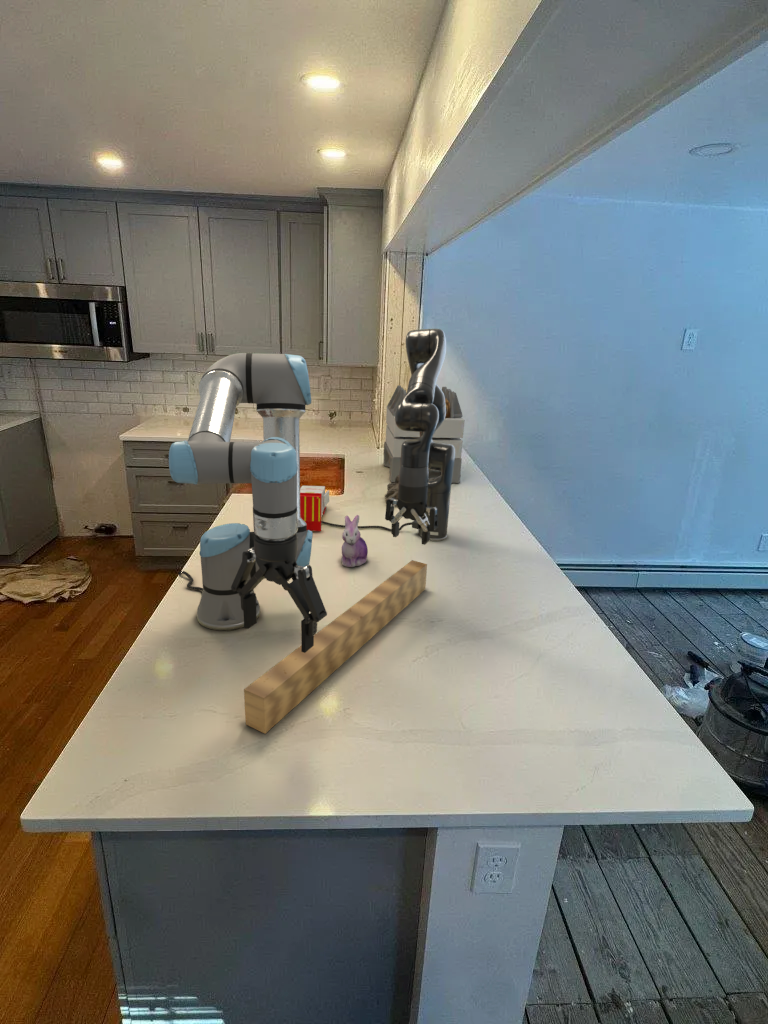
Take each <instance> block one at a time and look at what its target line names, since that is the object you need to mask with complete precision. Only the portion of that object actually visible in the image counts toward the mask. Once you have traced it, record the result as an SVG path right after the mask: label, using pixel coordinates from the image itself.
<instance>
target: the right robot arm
mask: <svg viewBox="0 0 768 1024" xmlns="http://www.w3.org/2000/svg"><path fill="white" fill-rule="evenodd" d="M405 351H406V357H407V361H408V367H409V371H410V375H411V376H410V378H409V380H408V384H407V389H406V393H407V394H406V395H405V397H404V398H403V399H402V401H401V402H400V404H399V405H398V407H397V410H396V413H395V423H396V425H397V427H398V428H399V429H401V430H403V431H414V432H420V438H417V439H412V440H407V441H404V442H403V443H402V446H401V464H400V470H399V484H398V500H396V499H395V498H394V497H391V498H390V499H388V500H387V503H386V502H385V504H386V505H385V515H384V520H385V521H389V522H390V524H391V528H388V527H386V526H382V525H358V526H357V527H358V529H381V530H385V531H388V532H391V535H392V537H393V538H397V537H399V535H400V531H402V529H403V528H404V527H407V526H411V528H412V529H415V530H417V535H418V536H420V538H421V545H422V546H423V545H424V546H425V545H426V544H427V543H429V541H432V542H440V541H444V540H446V539H447V538H448V525H449V517H450V516H449V514H450V504H451V494H452V493H451V491H452V484H453V483H452V475H453V467H454V460H455V448H454V446H453V445H450V444H443V443H436V442H433V440H432V437H433V434H434V433H435V431H436V430H437V429H438V428H439V426H440V425H441V424H442V422H443V420H444V419H445V416H446V405H445V396H444V393H443V392H442V388H441V387H440V386H439V385H438V384H437V381H438V379H439V378H438V377H439V376H440V373H441V370H442V367H443V365H444V362H445V359H446V355H447V338H446V333H445V332H444V330H442V329H441V328H423V329H422V328H421V329H412V330H409V331H408V332H407V333H406V336H405ZM429 470H430V471H437V472H440V471H442V473H441V472H440V475H438V476H435V477H430V476H429V475H430V473H429ZM395 507H397V508H398V510H399V511H398V512H397V513H396V514H395V515H394V513H395ZM402 518H403V519H405V520H411V522H405V523H403V524H401V525H400V522H399V521H400V520H401V519H402ZM321 524H323V525H328V526H332V527H335V528H344V529H345V524H337V523H333V522H328V521H324V520H321Z"/></svg>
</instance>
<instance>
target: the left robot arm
mask: <svg viewBox="0 0 768 1024" xmlns="http://www.w3.org/2000/svg"><path fill="white" fill-rule="evenodd" d="M309 376H310V375H309V370H308V364H307V361H306V359H305V358H304V357H303V356H302V355H298V354H288V353H253V352H251V353H250V352H249V353H248V352H238V353H233V354H229V355H227V356H225V357H222V358H220V359H218V360H217V361H216V362H214V363H213V364H211V366H209V367H208V368H207V369H206V370H205V372H204V373H203V374H202V376H201V378H200V381H199V384H198V394H199V397H200V398H199V401H198V405H197V409H196V412H195V415H194V418H193V422H192V426H191V428H190V432H189V436H188V438H187V440H183V441H175V442H172V443H171V444H170V447H169V451H168V468H169V474H170V477H171V479H172V480H173V481H174V482H175V483H177V484H192V485H204V484H206V485H208V484H209V485H211V484H212V485H213V484H251V497H252V522H253V523H252V524H253V531H251V529H250V527H249V526H248V525H246V524H244V523H240V522H232V523H225V524H221V525H217V526H214V527H212V528H210V529H208V530H206V531H205V532H204V533H203V534H202V535H201V537H200V542H199V556H200V565H201V579H202V587H200V586H193V585H192V584H193V583H194V578H193V576H192V575H191V574H190V573H188V572H187V571H185V570H180V571H178V573H177V574H178V575H182V574H183V575H185V576H186V577H187V578H188V579H189V581H188V583H187V584H186V588H187V589H190V590H195V591H201V592H202V593H201V596H200V600H199V604H198V606H197V610H196V618H197V622H198V623H199V624H200V626H202V627H204V628H207V629H210V630H214V631H234V630H239V629H242V628H244V629H245V630H249V629H250V628H251V627H253V626H254V625H256V624H257V623H258V621H257V620H258V618H259V617H260V614H261V608H260V603H259V600H258V598H257V594H256V593H255V589H256V588H257V587H258V585H259V584H260V583H261V582H263V580H266V581H268V582H273V583H275V584H276V585H278V586H281V587H282V588H283V590H284V591H287V593H288V594H289V596H290V598H291V599H292V601H293V602H294V604H295V605H296V607H297V609H298V611H299V612H300V614H301V615H302V617H303V619H302V620H301V621H300V629H301V630H300V632H301V635H300V636H301V637H300V638H301V639H300V640H301V641H300V644H301V645H300V646H301V652H304V653H305V652H307V651H308V650H309V649H310V648H311V647H313V646H314V635H315V634H317V633H318V623H319V622H320V621H322V620H323V619H324V618H325V617H327V615H328V612H327V609H326V607H325V605H324V602H323V599H322V597H321V595H320V592H319V590H318V587H317V585H316V581H315V580H314V577H313V568H312V566H311V564H310V562H311V555H312V546H313V544H312V543H313V531H310V530H307V524H306V522H305V521H304V520H302V519H301V517H300V488H301V458H300V457H301V456H300V455H301V453H300V452H301V450H300V445H301V444H300V419H301V417H302V416H303V415H304V414H306V406H310V405H311V404H312V394H311V384H310V383H311V382H310V377H309ZM240 404H254V405H256V412H257V414H258V415H259V416H260V417H261V418H262V425H263V427H262V429H263V437H262V438H263V440H262V441H231V438H232V431H233V426H234V421H235V416H236V415H235V414H236V410H237V407H238V406H239V405H240ZM182 571H183V572H182ZM181 572H182V573H181ZM180 573H181V574H180ZM291 579H292V581H291V582H289V581H290V580H291Z"/></svg>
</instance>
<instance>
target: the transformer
mask: <svg viewBox="0 0 768 1024" xmlns="http://www.w3.org/2000/svg"><path fill="white" fill-rule="evenodd" d="M441 390H442V392H443V393H444V396H445V405H446V416H445V419H444V420H443V422H442V424H441V425H440V426H439V428H438V429H437V430H436V431H435V433H434V434H433V437H432V440H433V442H436V443H443V444H450V445H453V446H454V448H455V460H454V467H453V475H452V483H451V484H455V483H456V484H459V483H461V472H462V461H463V460H462V453H463V442H464V441H463V440H462V439H463V438H464V431H465V430H464V429H465V419H464V418H463V411H462V408H461V405H460V402H459V398H458V395H457V392H455V391H453V390H452V389H451V388H447V386H442V387H441ZM406 394H407V389H404V388H403V387H402V385H399V384H398V385H397V386H396V388H395V390H394V392H393V394H392V395H391V398H390V400H389V402H388V404H387V405H386V413H385V414H386V415H385V423H386V428H385V438H384V442H383V466H384V467H388V468H389V475H388V476H389V477H388V478H389V480H390V483H394V482H395V478H396V476H397V475H399V470H400V464H401V446H402V443H403V442H404V441H407V440H412V439H417V438H420V432H414V431H403V430H401V429H399V428H398V427H397V425H396V423H395V413H396V410H397V407H398V405H399V404H400V402H401V401H402V399H403V398H404V397H405V395H406ZM439 473H440V474H441V473H442V471H439Z"/></svg>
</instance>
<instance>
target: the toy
mask: <svg viewBox="0 0 768 1024" xmlns="http://www.w3.org/2000/svg"><path fill="white" fill-rule="evenodd" d="M329 503H330V490H329V489H327V491H326V486H325V485H302V486H300V517H301V519H302V520H304V521H305V522H306V524H307V530H310V531H312V532H322V523H321V521H322V517H323V515H325V514H326V510H327V505H328V504H329Z"/></svg>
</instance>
